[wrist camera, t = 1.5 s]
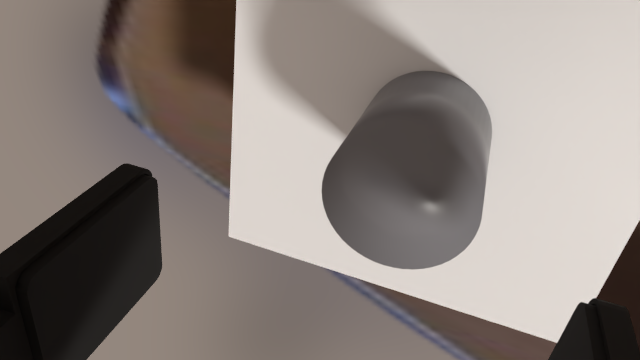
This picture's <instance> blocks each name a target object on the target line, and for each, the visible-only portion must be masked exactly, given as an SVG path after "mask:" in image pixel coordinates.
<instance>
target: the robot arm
mask: <svg viewBox="0 0 640 360" xmlns="http://www.w3.org/2000/svg"><path fill="white" fill-rule="evenodd" d="M161 269H162V255H161V237H160V219H159V202H158V184H157V180H156V179H155V178H153V177H152V173H151V172H150V171H149V170H148V169H144V168H141V167H138V166H134V165H131V164H123V165H121V166H119V167H118V168H117V169H115V170H114V171H113V172H111V173H110V174H108V175H107V176H106V177H104V178H103V179H102V180H100V181H99V182H97V183H96V184H95V185H94V186H92V187H91V188H89V189H88V190H87V191H85V192H84V193H82V194H81V195H80V196H78V197H77V198H76V199H74V200H73V201H72V202H70V203H69V204H67V205H66V206H65V207H64V208H62V209H61V210H59V211H58V212H57V213H55V214H54V215H53V216H51V217H50V218H48V219H47V220H46V221H44V222H43V223H42V224H40V225H39V226H38V227H36V228H35V229H34V230H32V231H31V232H29V233H28V234H27V235H25V236H24V237H22V238H21V239H20V240H18V241H17V242H16V243H14V244H13V245H12V246H10V247H9V248H8V249H6V250H5V251H3V252H2V253H1V254H0V360H86V359H87V358H88V357H89V356H90V355H91V354H92V353H93V352H94V350H95V349H96V348H97V347H98V346H99V345H100V344H101V343H102V341H103V340H104V339H105V338H106V337H107V336H108V335H109V333H110V332H111V331H112V330H113V329H114V328H115V326H117V324H118V323H119V322H120V321H121V320H122V319H123V318H124V316H125V315H126V314H127V313H128V312H129V310H131V308H132V307H133V306H134V305H135V304H136V303H137V302H138V301H139V299H140V298H141V297H142V296H143V295H144V294H145V293H146V291H147V290H148V289H149V288H150V287H151V286H152V285H153V284H154V282H155V281H156V280H157V278H158V277H159V275H160V272H161ZM548 360H640V351H639V348H638V344H637V341H636V337H635V333H634V330H633V326H632V323H631V319H630V315H629V312H628V310H627V308H626V307H624V306H621V305H617V304H614V303H610V302H607V301H603V300H600V299H596V298H593V299H592V300H590V301H589V303H588V304H587V303H584V302H580V303H579V304H578V305H577V307H576V309H575V311H574V312H573V314H572V316H571V318H570V320H569V322H568V324H567V326H566V327H565V329H564V331H563V333H562V335H561V337H560V339H559V340H558V342H557V344H556V346H555V348H554V350H553V352H552V354H551V355H550V357H549V359H548Z"/></svg>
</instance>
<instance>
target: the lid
mask: <svg viewBox="0 0 640 360" xmlns="http://www.w3.org/2000/svg"><path fill="white" fill-rule="evenodd" d="M229 213H230V214H229V237H232V238H235V239H238V240H241V241H244V242H247V243H250V244H254V245H257V246H259V247H263V248H266V249H269V250H272V251H275V252H278V253H281V254H284V255H288V256H290V257H293V258H297V259H300V260H303V261H306V262H309V263H312V264H315V265H318V266H321V267H324V268H327V269H331V270H334V271H337V272H340V273H343V274H346V275H349V276H352V277H355V278H358V279H361V280H365V281H368V282H371V283H374V284H377V285H380V286H383V287H386V288H389V289H392V290H395V291H399V292H402V293H405V294H408V295H411V296H414V297H417V298H420V299H423V300H426V301H430V302H433V303H436V304H439V305H442V306H445V307H448V308H451V309H454V310H457V311H460V312H464V313H467V314H470V315H473V316H476V317H479V318H482V319H485V320H488V321H491V322H494V323H498V324H501V325H504V326H507V327H510V328H513V329H516V330H519V331H522V332H525V333H528V334H532V335H535V336H538V337H541V338H544V339H547V340H550V341H553V342H556V343H557V342H558V340H559V339H560V337H561V335H562V333H563V331H564V329H565V327H566V326H567V324H568V322H569V320H570V318H571V316H572V314H573V312H574V311H575V309H576V307H577V305H578V304H579V303H580V302H584V303H587V304H588V303H589V301H590V300H592V299H593V298H596V297H597V296H598V294H599V292H600V290H601V288H602V287H603V285H604V283H605V281H606V279H607V278H608V276H609V274H610V272H611V270H612V269H613V267H614V265H615V263H616V261H617V260H618V258H619V256H620V254H621V252H622V251H623V249H624V247H625V245H626V244H627V242H628V240H629V238H630V236H631V235H632V233H633V231H634V229H635V227H636V226H637V224H638V222H639V220H640V0H236V27H235V58H234V88H233V119H232V150H231V180H230V212H229Z"/></svg>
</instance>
